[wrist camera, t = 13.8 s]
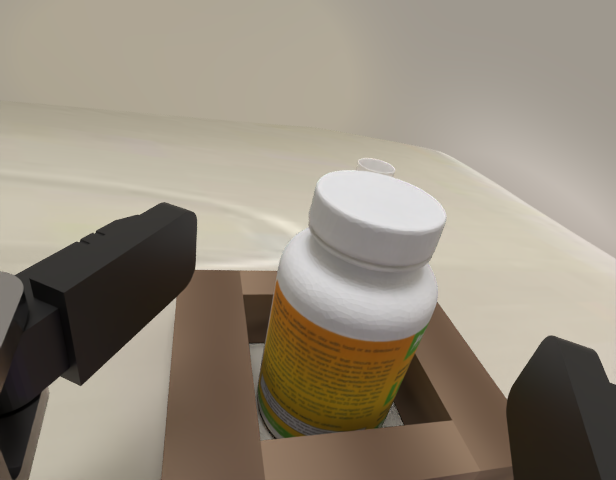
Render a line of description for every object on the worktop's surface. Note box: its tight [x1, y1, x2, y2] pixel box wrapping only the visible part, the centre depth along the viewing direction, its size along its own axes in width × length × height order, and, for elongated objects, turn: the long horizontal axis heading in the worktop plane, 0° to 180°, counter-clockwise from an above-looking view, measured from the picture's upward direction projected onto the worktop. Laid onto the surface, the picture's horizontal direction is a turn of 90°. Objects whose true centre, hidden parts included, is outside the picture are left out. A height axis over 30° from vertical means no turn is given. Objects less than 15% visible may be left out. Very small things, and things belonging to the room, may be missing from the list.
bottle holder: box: [161, 270, 514, 480], centre depth 16 cm, size 12×10×3 cm
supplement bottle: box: [257, 170, 446, 439], centre depth 14 cm, size 5×5×10 cm
